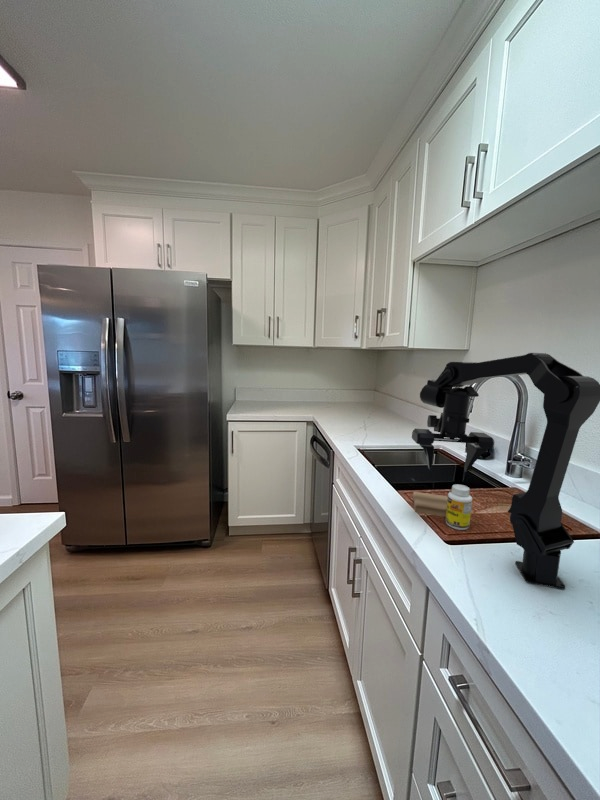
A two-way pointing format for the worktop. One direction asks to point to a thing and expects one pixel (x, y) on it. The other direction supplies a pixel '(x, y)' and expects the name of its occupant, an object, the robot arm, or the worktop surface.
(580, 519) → the worktop surface
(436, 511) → the beige square slab
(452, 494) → the supplement bottle
